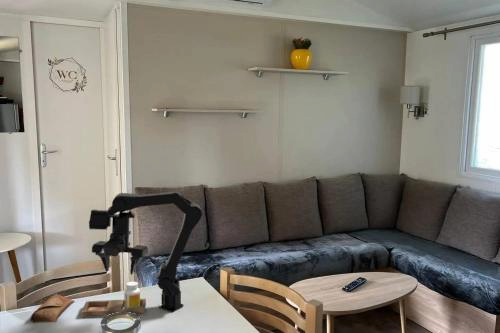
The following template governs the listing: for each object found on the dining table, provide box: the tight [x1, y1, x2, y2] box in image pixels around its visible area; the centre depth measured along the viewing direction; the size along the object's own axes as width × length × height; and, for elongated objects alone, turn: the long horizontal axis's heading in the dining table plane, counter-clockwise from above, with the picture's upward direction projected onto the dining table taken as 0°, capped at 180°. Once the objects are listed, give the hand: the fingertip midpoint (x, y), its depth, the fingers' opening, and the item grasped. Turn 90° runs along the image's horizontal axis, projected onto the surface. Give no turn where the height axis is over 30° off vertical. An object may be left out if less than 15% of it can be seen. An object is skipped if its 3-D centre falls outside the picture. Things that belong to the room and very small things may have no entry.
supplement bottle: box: [123, 281, 141, 309], centre depth 157 cm, size 5×5×10 cm
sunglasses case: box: [30, 292, 75, 323], centre depth 155 cm, size 18×7×7 cm
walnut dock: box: [80, 298, 147, 318], centre depth 156 cm, size 21×9×2 cm, turn 100°
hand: (119, 272), depth 155 cm, fingers open, 9 cm apart
